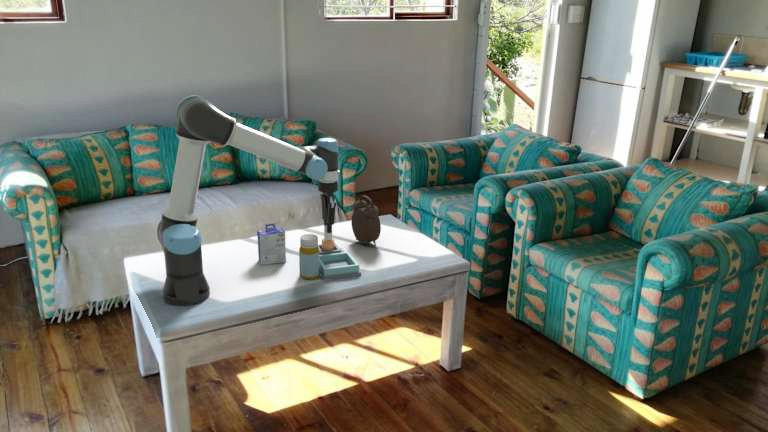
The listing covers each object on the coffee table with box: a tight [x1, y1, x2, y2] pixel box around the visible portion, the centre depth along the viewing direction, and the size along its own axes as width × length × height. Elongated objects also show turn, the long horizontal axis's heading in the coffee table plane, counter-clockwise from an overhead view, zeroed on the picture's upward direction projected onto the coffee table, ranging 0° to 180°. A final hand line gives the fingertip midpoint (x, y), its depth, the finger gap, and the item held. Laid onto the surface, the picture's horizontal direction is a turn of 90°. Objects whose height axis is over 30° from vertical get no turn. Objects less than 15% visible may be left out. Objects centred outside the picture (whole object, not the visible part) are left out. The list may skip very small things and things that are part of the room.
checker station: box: [318, 242, 362, 281], centre depth 249 cm, size 14×24×4 cm, turn 21°
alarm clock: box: [351, 194, 382, 247], centre depth 268 cm, size 14×7×20 cm, turn 32°
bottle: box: [298, 233, 320, 281], centre depth 237 cm, size 7×7×15 cm
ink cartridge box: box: [256, 223, 287, 266], centre depth 249 cm, size 10×6×14 cm, turn 112°
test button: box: [321, 238, 335, 251], centre depth 254 cm, size 5×5×5 cm
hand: (328, 239), depth 253 cm, fingers closed
